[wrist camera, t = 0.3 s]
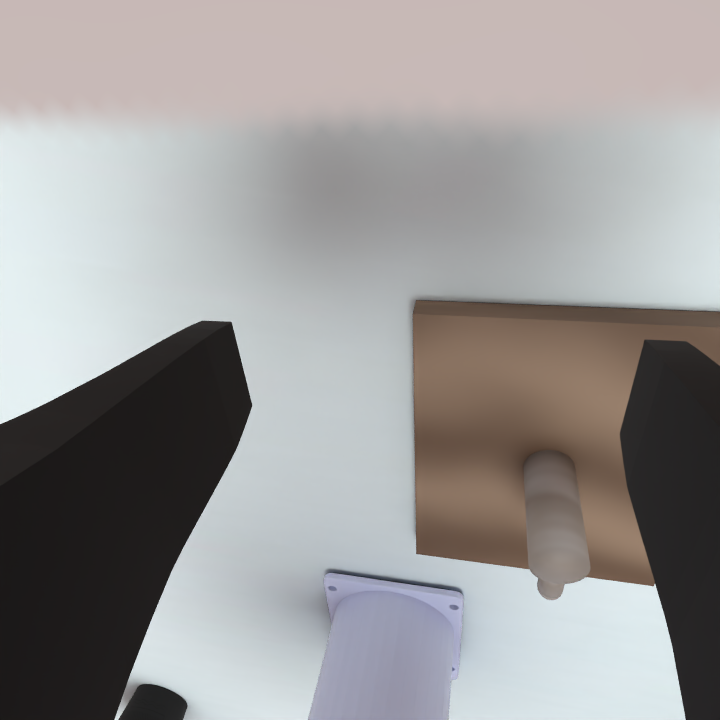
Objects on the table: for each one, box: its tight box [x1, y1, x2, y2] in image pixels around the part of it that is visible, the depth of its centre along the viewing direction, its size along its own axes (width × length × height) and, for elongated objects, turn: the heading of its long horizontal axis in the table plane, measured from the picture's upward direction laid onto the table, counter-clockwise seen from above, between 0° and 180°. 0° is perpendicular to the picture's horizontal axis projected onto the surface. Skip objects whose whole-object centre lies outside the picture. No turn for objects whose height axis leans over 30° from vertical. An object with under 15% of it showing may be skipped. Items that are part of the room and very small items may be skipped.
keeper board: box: [413, 300, 720, 600], centre depth 21 cm, size 14×11×6 cm
